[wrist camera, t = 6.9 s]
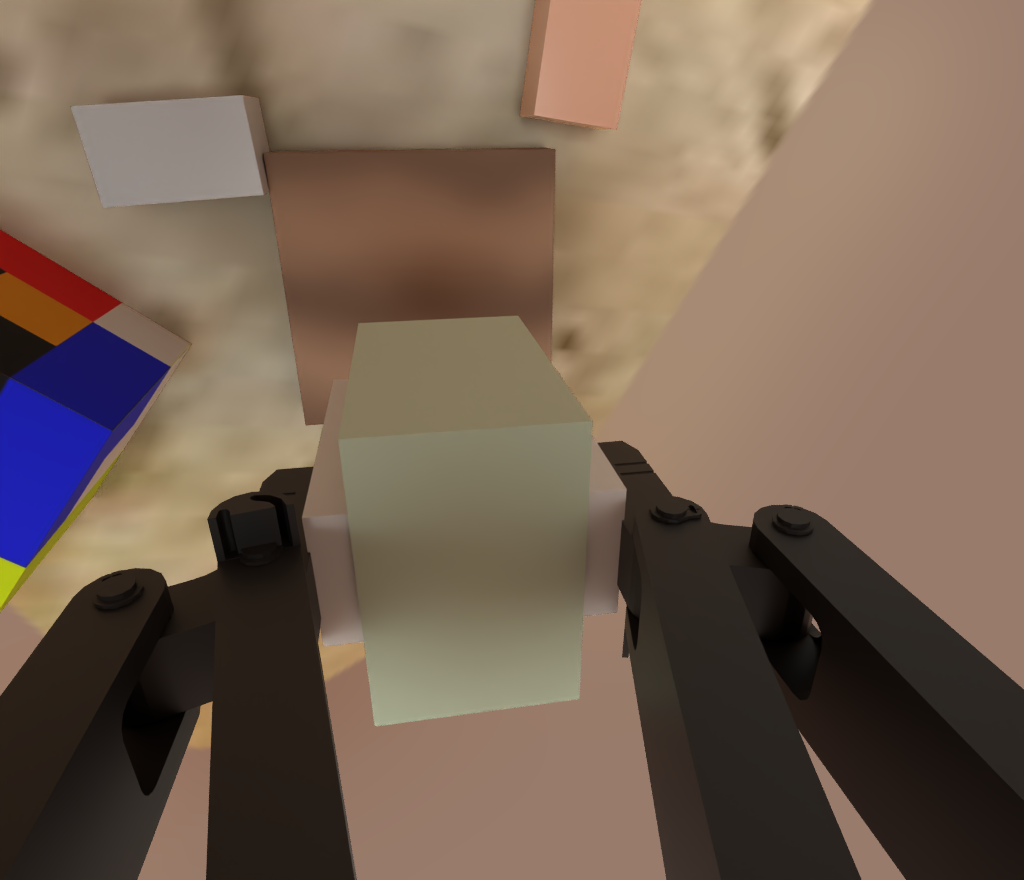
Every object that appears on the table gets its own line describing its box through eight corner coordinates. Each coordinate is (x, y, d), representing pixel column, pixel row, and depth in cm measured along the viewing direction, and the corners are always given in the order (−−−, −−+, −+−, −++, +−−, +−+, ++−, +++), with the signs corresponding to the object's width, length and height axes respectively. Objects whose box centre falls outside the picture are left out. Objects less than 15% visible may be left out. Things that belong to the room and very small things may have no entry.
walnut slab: (271, 151, 28) (263, 153, 27) (545, 147, 30) (555, 149, 28) (310, 409, 34) (305, 425, 32) (542, 393, 35) (550, 408, 34)
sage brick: (358, 322, 16) (338, 439, 10) (517, 315, 17) (592, 420, 11) (380, 529, 19) (374, 726, 13) (518, 517, 19) (579, 699, 13)
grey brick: (134, 198, 29) (103, 208, 25) (107, 107, 27) (70, 105, 24) (277, 187, 29) (263, 194, 26) (259, 97, 28) (242, 95, 25)
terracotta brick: (541, -46, 27) (560, -68, 24) (621, -28, 28) (650, -47, 25) (518, 116, 30) (534, 115, 26) (593, 128, 30) (616, 129, 27)
